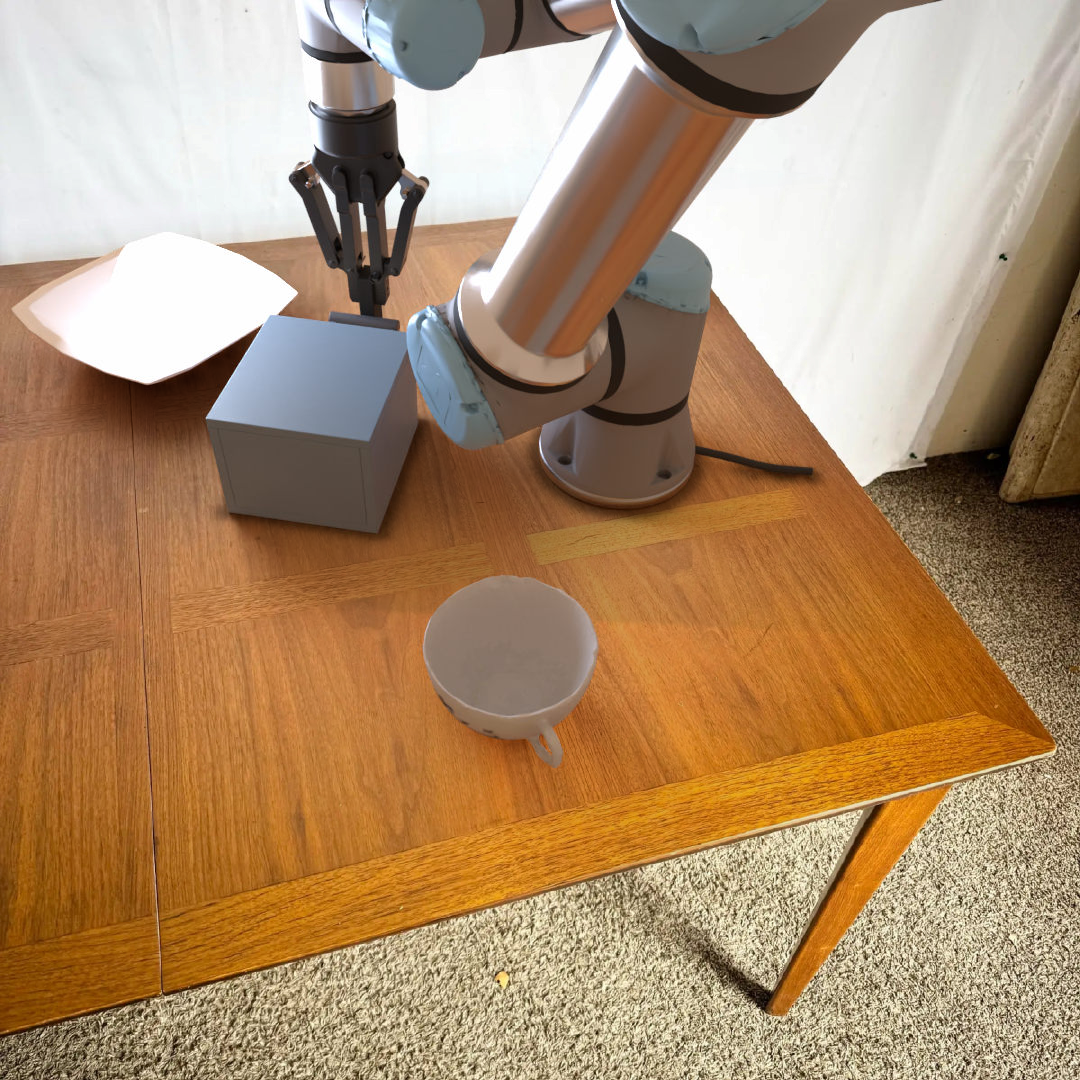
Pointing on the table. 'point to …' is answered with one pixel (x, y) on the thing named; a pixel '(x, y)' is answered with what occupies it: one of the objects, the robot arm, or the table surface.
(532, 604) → the teacup
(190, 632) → the table surface
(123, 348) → the bowl
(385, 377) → the cabinet
